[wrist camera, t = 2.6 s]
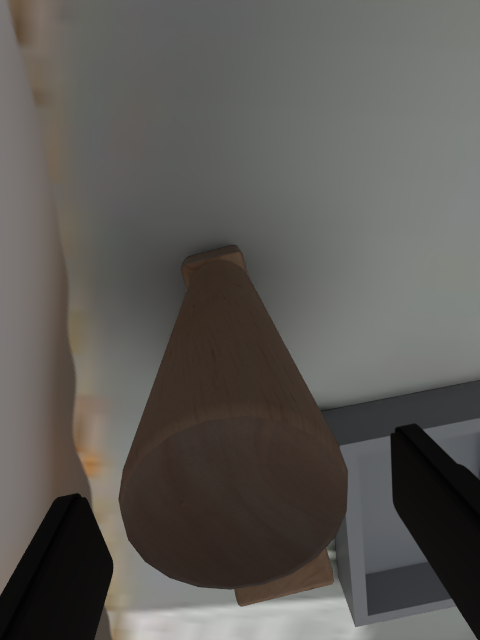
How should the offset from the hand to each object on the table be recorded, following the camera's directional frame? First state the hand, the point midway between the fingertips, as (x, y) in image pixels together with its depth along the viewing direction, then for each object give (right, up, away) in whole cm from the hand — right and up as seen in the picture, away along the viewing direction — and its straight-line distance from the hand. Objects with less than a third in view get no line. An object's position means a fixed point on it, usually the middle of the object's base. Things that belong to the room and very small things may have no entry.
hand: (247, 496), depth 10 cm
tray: (+15, -10, +19) cm, 27 cm away
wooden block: (-1, +5, +13) cm, 14 cm away
